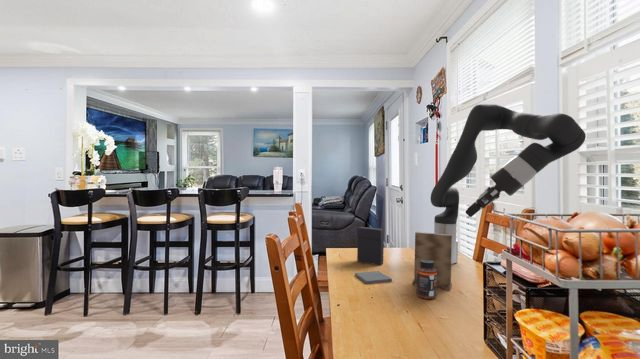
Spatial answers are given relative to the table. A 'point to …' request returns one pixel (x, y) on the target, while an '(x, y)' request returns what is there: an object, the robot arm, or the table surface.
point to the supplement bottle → (426, 280)
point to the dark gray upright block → (370, 245)
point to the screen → (434, 256)
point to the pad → (373, 277)
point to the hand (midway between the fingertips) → (468, 213)
